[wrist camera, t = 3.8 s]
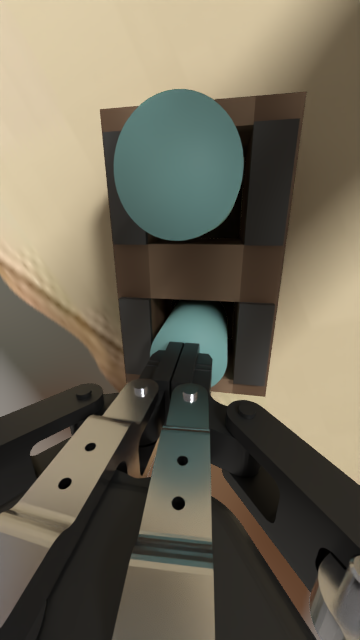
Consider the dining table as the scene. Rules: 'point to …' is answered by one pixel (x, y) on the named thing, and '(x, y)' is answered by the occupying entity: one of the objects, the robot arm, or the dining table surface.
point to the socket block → (214, 246)
